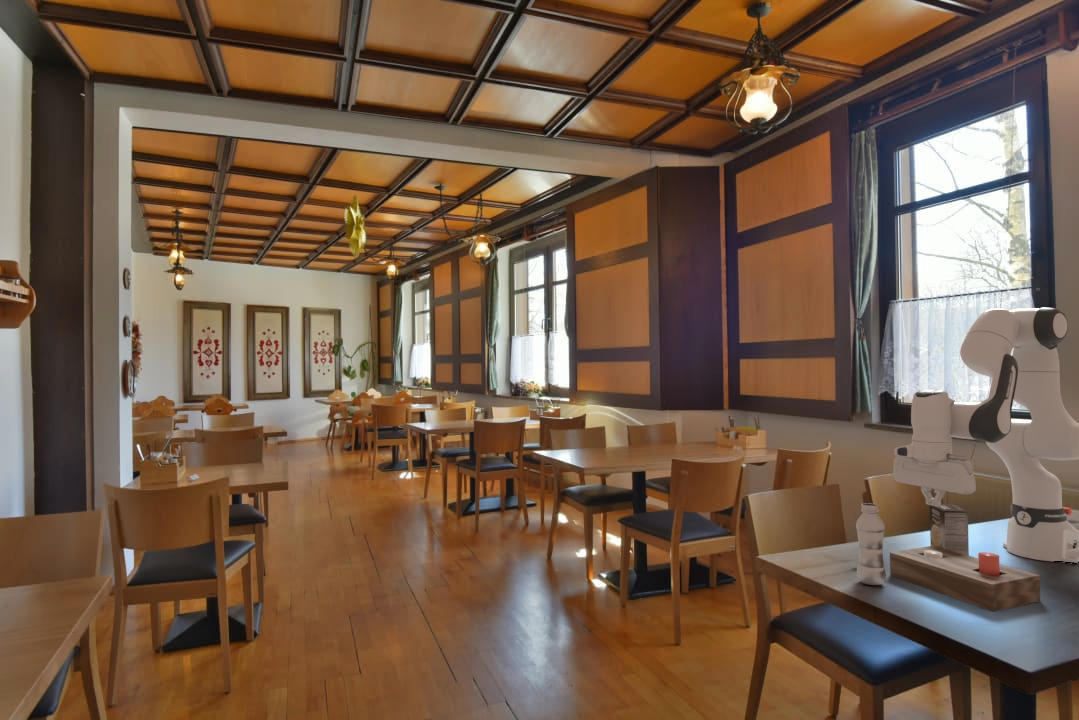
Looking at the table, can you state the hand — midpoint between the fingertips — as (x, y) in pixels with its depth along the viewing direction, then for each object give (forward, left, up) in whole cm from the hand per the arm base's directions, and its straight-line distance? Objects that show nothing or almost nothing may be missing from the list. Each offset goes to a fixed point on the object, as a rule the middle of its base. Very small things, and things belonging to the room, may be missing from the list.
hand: (933, 505), depth 156 cm
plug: (0, 0, -19) cm, 19 cm away
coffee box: (-14, -6, -19) cm, 25 cm away
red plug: (0, +14, -15) cm, 21 cm away
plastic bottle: (+18, -3, -19) cm, 26 cm away
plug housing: (0, +7, -19) cm, 20 cm away
